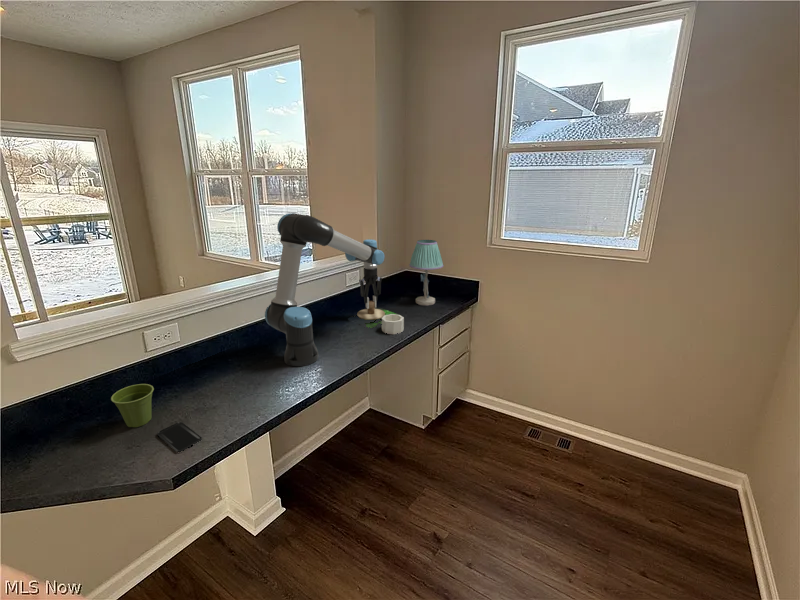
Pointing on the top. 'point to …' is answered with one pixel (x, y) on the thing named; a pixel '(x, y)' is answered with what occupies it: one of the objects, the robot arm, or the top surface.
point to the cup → (392, 324)
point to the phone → (179, 436)
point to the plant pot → (134, 404)
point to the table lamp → (426, 265)
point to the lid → (371, 312)
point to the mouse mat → (380, 319)
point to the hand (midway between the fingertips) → (371, 307)
